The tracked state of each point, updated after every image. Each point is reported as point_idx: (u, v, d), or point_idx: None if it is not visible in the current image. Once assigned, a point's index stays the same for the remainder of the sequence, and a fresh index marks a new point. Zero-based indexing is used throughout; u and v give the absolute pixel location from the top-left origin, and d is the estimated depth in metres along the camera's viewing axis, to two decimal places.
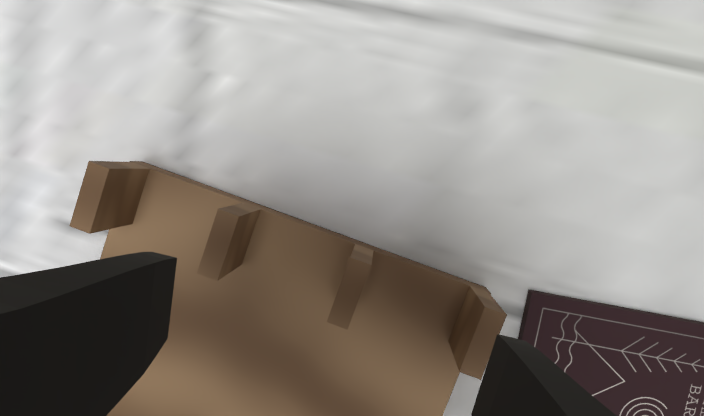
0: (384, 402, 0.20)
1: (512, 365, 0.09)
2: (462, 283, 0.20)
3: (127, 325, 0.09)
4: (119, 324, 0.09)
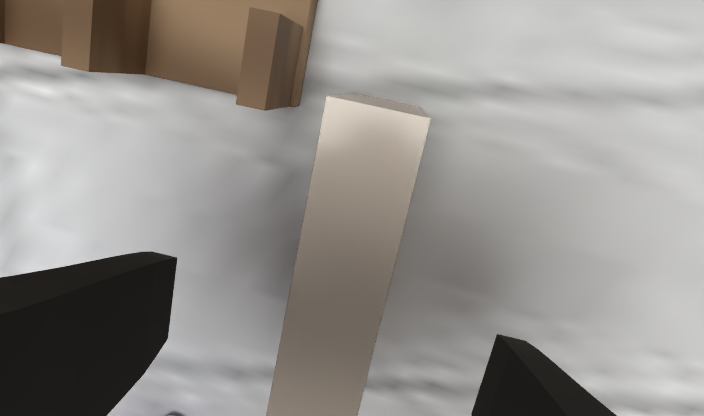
0: None
1: (512, 365, 0.09)
2: None
3: (127, 325, 0.09)
4: (119, 323, 0.09)
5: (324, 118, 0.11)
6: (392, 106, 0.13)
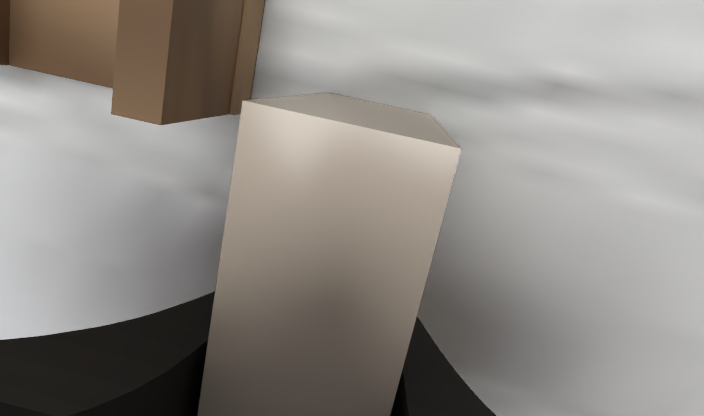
0: None
1: None
2: None
3: None
4: None
5: (240, 147, 0.05)
6: (384, 118, 0.07)
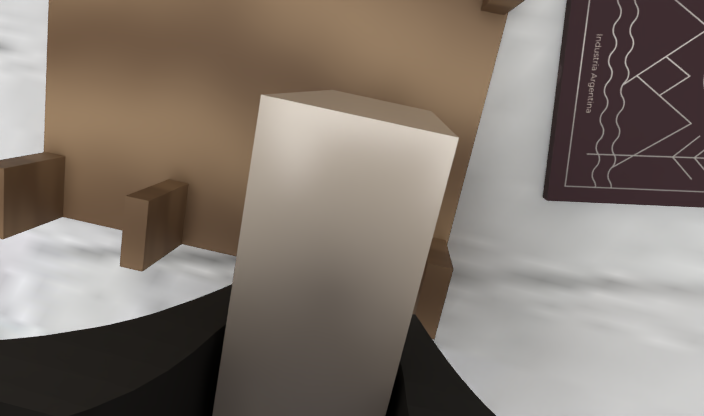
0: (411, 105, 0.17)
1: None
2: None
3: None
4: None
5: (258, 137, 0.06)
6: (387, 112, 0.08)
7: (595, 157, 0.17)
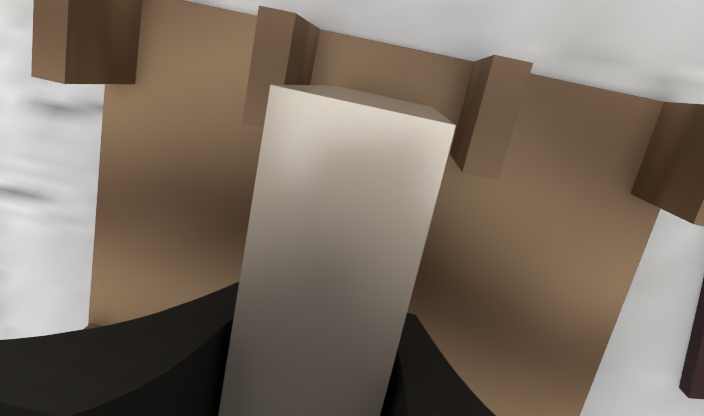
0: (535, 294, 0.14)
1: None
2: (651, 100, 0.13)
3: None
4: None
5: (267, 124, 0.06)
6: (388, 104, 0.08)
7: None
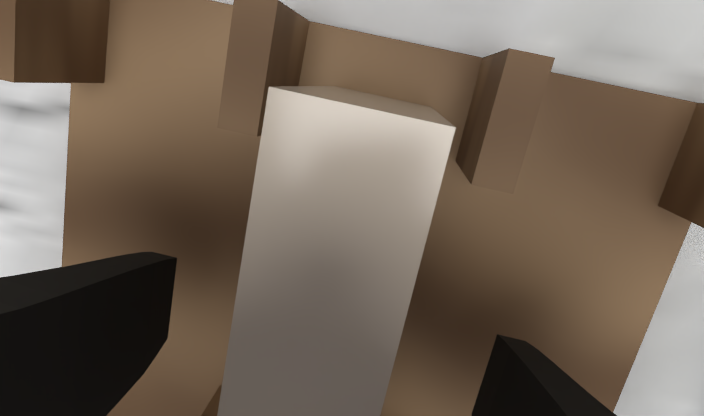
0: (550, 316, 0.13)
1: (512, 365, 0.09)
2: (682, 100, 0.11)
3: (127, 325, 0.09)
4: (119, 323, 0.09)
5: (266, 126, 0.06)
6: (388, 105, 0.08)
7: None
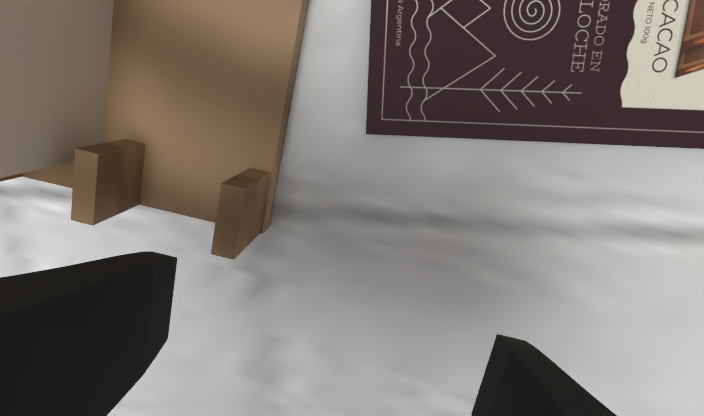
0: (227, 36, 0.17)
1: (512, 365, 0.09)
2: None
3: (127, 325, 0.09)
4: (119, 324, 0.09)
5: None
6: None
7: (408, 90, 0.18)
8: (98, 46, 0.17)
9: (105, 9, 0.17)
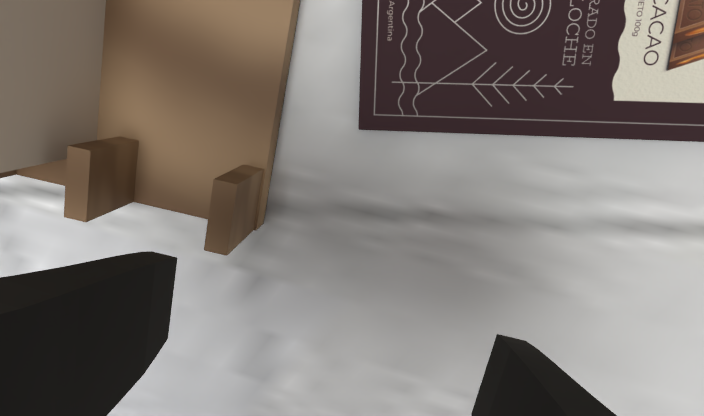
0: (220, 32, 0.17)
1: (512, 365, 0.09)
2: None
3: (127, 325, 0.09)
4: (119, 323, 0.09)
5: None
6: None
7: (400, 85, 0.18)
8: (90, 43, 0.17)
9: (98, 6, 0.17)
